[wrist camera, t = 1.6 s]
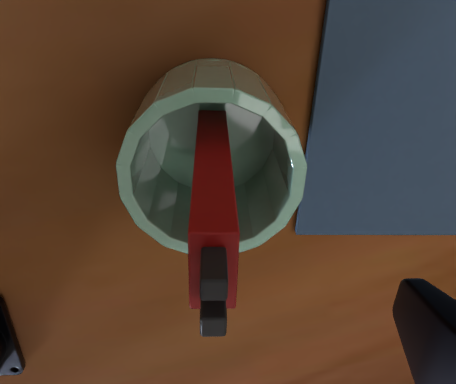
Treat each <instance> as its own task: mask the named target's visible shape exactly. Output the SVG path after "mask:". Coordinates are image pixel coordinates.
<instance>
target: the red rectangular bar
mask: <svg viewBox="0 0 456 384" xmlns="http://www.w3.org/2000/svg"><path fill="white" fill-rule="evenodd" d="M239 240H240V231H239V222H238V213H237V204H236V195H235V187H234V178H233V169H232V160H231V151H230V142H229V134H228V125H227V116H226V111H213V110H199V112H198V123H197V134H196V146H195V157H194V168H193V180H192V191H191V202H190V214H189V225H188V266H189V306H190V308H191V309H200V334H201V336H203V337H207V336H225V335H226V328H227V311H226V308H235V307H236V294H237V276H238V258H239Z"/></svg>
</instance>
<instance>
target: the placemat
mask: <svg viewBox="0 0 456 384" xmlns="http://www.w3.org/2000/svg"><path fill="white" fill-rule="evenodd" d="M305 159H306V162H307V172H306V179H305V186H304V193H303V198H302V200H301V202H300V204H299V206H298V213H297V220H296V227H295V232H296V234H297V235H456V0H327V3H326V10H325V17H324V24H323V32H322V39H321V46H320V53H319V61H318V68H317V75H316V82H315V90H314V97H313V104H312V111H311V119H310V126H309V133H308V140H307V148H306V155H305Z"/></svg>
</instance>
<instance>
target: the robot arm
mask: <svg viewBox="0 0 456 384" xmlns="http://www.w3.org/2000/svg"><path fill="white" fill-rule="evenodd" d="M393 317H394V320H395V324H396V327H397V330H398V333H399V336H400V339H401V342H402V345H403V348H404V352H405V355H406V358H407V361H408V364H409V367H410V370H411V373H412V376H413V379H414V382H415V384H456V300H455V299H453V298H452V297H450V296H449V295H447V294H446V293H444V292H442V291H441V290H439V289H438V288H436V287H435V286H433V285H432V284H430V283H429V282H427V281H425V280H424V279H419V278H415V279H403V280H402V281H401V283H400V285H399V288H398V292H397V295H396V298H395V301H394V305H393ZM24 368H25V362H24V359H23V356H22V353H21V350H20V347H19V344H18V341H17V338H16V335H15V332H14V329H13V326H12V323H11V320H10V317H9V314H8V311H7V308H6V305H5V302H4V300H3V298H2V297H1V296H0V375H19V374H21V373H22V372H23V370H24Z"/></svg>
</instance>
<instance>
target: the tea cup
mask: <svg viewBox="0 0 456 384" xmlns="http://www.w3.org/2000/svg"><path fill="white" fill-rule="evenodd" d="M199 110H213V111H226V116H227V125H228V134H229V142H230V151H231V160H232V169H233V178H234V187H235V195H236V204H237V213H238V222H239V231H240V240H239V252H243V251H246V250H249V249H252V248H255V247H258V246H259V245H262V244H263V243H264V242H265V241H267V240H268V239H269V238H271V237H272V236H273V235H275V234H276V233H277V232H279V231H280V230H281V229H283V228H284V227H285V226H286V225H287V223H288V222H289V220H290V218H291V217H292V215H293V213H294V212H295V210H296V209H297V207H298V205H299V204H300V202H301V200H302V198H303V193H304V186H305V179H306V172H307V162H306V159H305V156H304V153H303V149H302V146H301V143H300V140H299V136H298V133H297V132H296V130H295V128H294V126H293V124H292V123H291V121H290V119H289V117H288V115H287V113H286V112H285V110H284V108H283V106H282V104H281V102H280V101H279V99H278V97H277V95H276V94H275V93H274V92H273V91H272V89H271V88H270V87H269V86H268V84H267V83H266V82H265V81H264V80H263V79H262V78H261V77H260V76H259V75H258V74H256V73H255V72H253V71H252V70H251V69H249V68H247V67H245V66H243V65H241V64H238V63H236V62H233V61H229V60H225V59H216V58H205V59H198V60H192V61H189V62H186V63H183V64H181V65H179V66H177V67H175V68H173V69H172V70H170V71H169V72H167V73H166V74H165V75H163V76H162V77H161V78H160V79H159V80H158V81H157V82H156V83H155V85H154V86H153V87H152V88H151V90H150V91H149V92H148V93H147V94H146V96H145V98H144V100H143V102H142V103H141V105H140V107H139V109H138V111H137V113H136V115H135V116H134V118H133V120H132V122H131V124H130V126H129V128H128V129H127V131H126V134H125V137H124V140H123V143H122V146H121V149H120V152H119V155H118V158H117V160H116V172H117V180H118V188H119V196H120V199H121V200H122V202H123V204H124V205H125V207H126V209H127V210H128V212H129V214H130V215H131V217H132V219H133V220H134V222H135V224H136V225H137V226H138V227H139V228H140V229H142V230H143V231H144V232H146V233H147V234H148V235H150V236H151V237H152V238H153V239H155V240H156V241H157V242H159V243H160V244H161V245H164V246H165V247H168V248H171V249H174V250H177V251H180V252H183V253H186V254H188V225H189V214H190V202H191V191H192V180H193V168H194V157H195V146H196V134H197V123H198V112H199Z"/></svg>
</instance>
